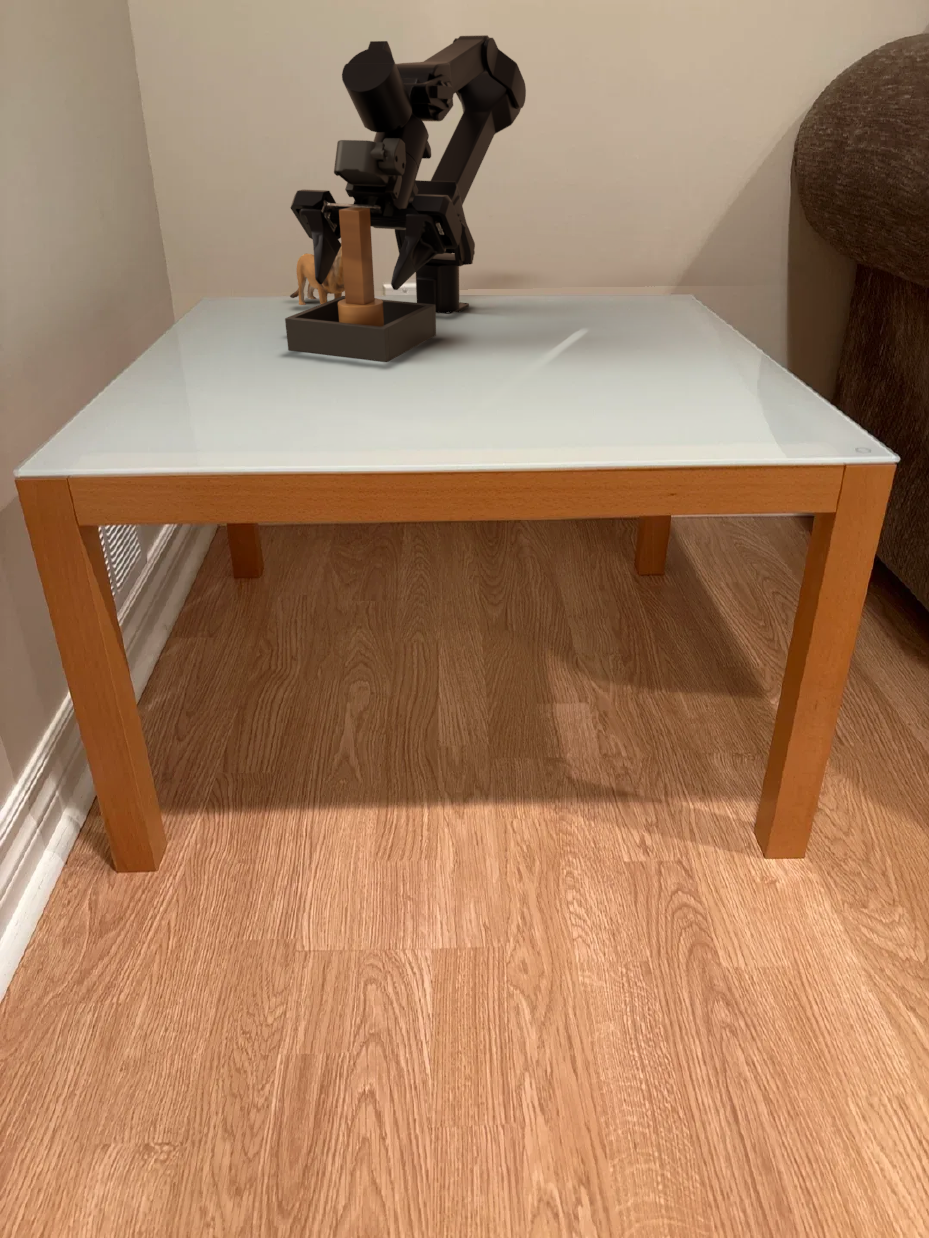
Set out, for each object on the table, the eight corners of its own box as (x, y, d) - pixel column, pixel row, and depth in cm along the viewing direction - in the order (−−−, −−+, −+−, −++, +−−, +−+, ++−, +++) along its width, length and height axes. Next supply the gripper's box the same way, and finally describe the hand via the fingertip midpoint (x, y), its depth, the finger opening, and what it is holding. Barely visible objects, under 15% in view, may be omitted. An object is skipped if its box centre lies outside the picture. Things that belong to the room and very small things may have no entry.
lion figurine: (372, 315, 120) (367, 242, 116) (339, 322, 117) (334, 247, 112) (305, 298, 129) (299, 230, 125) (274, 304, 126) (266, 234, 122)
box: (345, 330, 114) (342, 295, 112) (436, 339, 109) (435, 304, 107) (288, 355, 104) (284, 318, 102) (386, 367, 100) (384, 329, 98)
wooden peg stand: (355, 340, 107) (345, 205, 100) (392, 344, 106) (386, 207, 98) (332, 350, 104) (321, 211, 96) (371, 355, 102) (363, 213, 94)
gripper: (290, 107, 99) (246, 232, 96) (450, 108, 93) (410, 241, 90) (330, 181, 109) (292, 295, 106) (477, 186, 103) (442, 307, 100)
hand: (355, 284), depth 100 cm, fingers open, 9 cm apart
